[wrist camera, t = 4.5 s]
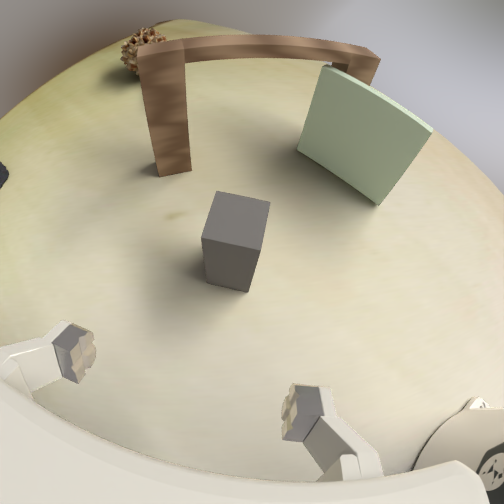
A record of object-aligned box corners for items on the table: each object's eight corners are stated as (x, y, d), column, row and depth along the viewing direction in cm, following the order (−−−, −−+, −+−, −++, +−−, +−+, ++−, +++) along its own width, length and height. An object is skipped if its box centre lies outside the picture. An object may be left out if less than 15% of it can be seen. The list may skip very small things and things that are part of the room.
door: (296, 149, 35) (322, 66, 23) (307, 140, 36) (333, 61, 24) (378, 205, 32) (432, 133, 21) (385, 193, 33) (435, 123, 22)
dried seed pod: (116, 71, 43) (109, 33, 34) (156, 56, 46) (153, 19, 38) (156, 111, 37) (149, 56, 28) (208, 91, 40) (209, 40, 31)
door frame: (330, 138, 38) (366, 47, 23) (339, 152, 36) (381, 59, 22) (157, 160, 32) (138, 46, 18) (159, 177, 31) (136, 57, 17)
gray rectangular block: (255, 255, 28) (270, 202, 20) (248, 292, 26) (260, 250, 18) (217, 246, 28) (216, 190, 20) (207, 283, 26) (201, 237, 18)
